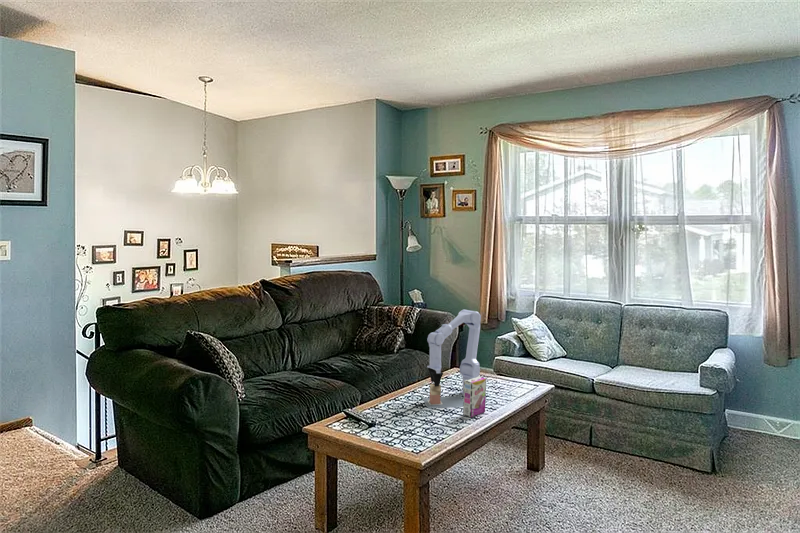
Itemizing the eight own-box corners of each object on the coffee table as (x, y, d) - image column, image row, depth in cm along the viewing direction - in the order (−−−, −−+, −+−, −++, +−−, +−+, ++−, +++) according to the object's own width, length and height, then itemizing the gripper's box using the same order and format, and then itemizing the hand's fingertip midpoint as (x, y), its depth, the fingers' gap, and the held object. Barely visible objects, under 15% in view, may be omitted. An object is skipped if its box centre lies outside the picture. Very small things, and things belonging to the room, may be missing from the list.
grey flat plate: (460, 396, 283) (460, 396, 283) (468, 406, 267) (468, 406, 267) (421, 398, 280) (421, 397, 280) (428, 408, 264) (428, 408, 264)
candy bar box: (471, 418, 252) (471, 382, 251) (462, 415, 255) (463, 380, 254) (486, 412, 260) (486, 378, 258) (477, 409, 263) (478, 376, 262)
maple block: (438, 392, 275) (438, 383, 275) (440, 394, 271) (440, 385, 270) (429, 392, 275) (430, 383, 274) (431, 395, 270) (431, 386, 270)
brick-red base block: (438, 400, 276) (438, 392, 275) (440, 403, 271) (440, 394, 271) (429, 401, 275) (429, 392, 274) (431, 404, 270) (431, 395, 270)
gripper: (424, 353, 278) (424, 380, 279) (430, 360, 263) (430, 388, 265) (438, 353, 279) (438, 379, 280) (444, 360, 265) (444, 388, 266)
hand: (435, 384), depth 272 cm, fingers open, 7 cm apart
